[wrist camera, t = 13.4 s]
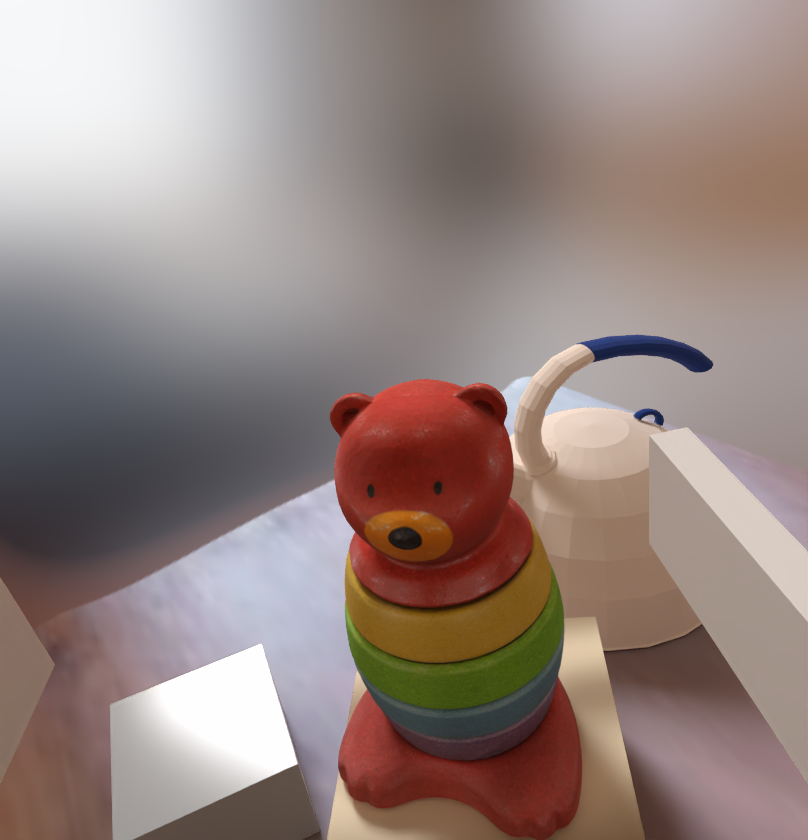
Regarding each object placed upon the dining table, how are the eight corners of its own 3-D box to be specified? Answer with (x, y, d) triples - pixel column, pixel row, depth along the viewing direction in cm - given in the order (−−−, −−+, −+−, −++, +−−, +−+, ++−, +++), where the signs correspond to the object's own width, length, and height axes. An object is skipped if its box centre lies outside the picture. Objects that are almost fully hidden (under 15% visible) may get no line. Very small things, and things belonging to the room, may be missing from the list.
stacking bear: (326, 800, 30) (205, 472, 21) (394, 627, 38) (326, 339, 29) (576, 854, 26) (552, 486, 18) (591, 650, 34) (580, 331, 26)
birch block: (645, 969, 29) (651, 868, 26) (356, 960, 31) (322, 865, 27) (595, 712, 41) (595, 616, 37) (385, 717, 43) (364, 626, 39)
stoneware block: (321, 832, 37) (297, 763, 34) (153, 915, 34) (113, 848, 31) (283, 708, 44) (261, 643, 41) (143, 769, 42) (110, 704, 39)
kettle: (420, 529, 59) (390, 338, 50) (617, 457, 64) (620, 273, 56) (548, 703, 42) (535, 458, 33) (801, 584, 47) (845, 348, 39)
